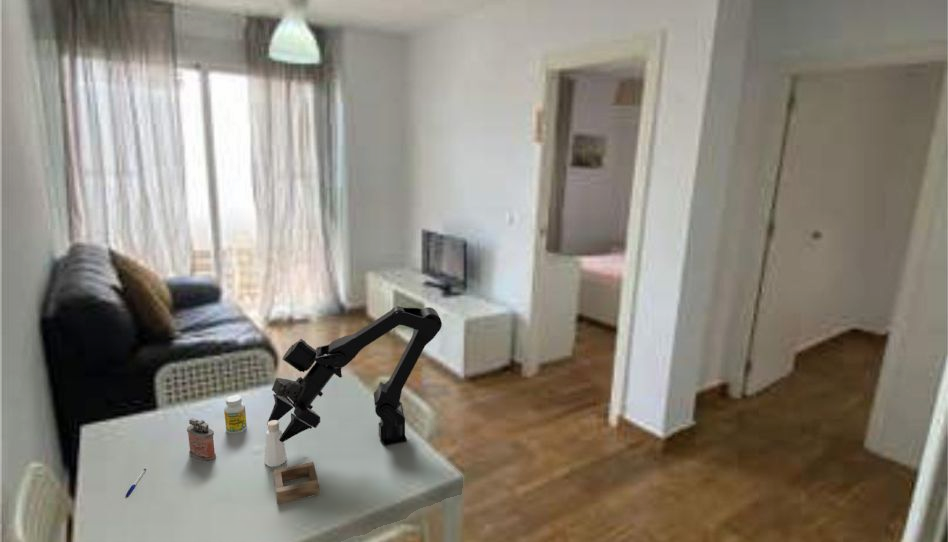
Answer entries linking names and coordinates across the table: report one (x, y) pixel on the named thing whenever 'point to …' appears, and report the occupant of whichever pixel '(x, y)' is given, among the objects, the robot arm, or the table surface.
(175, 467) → the table surface
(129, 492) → the ballpoint pen
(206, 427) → the lighter
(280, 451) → the pepper shaker
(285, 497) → the socket block
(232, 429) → the supplement bottle
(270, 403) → the table surface
